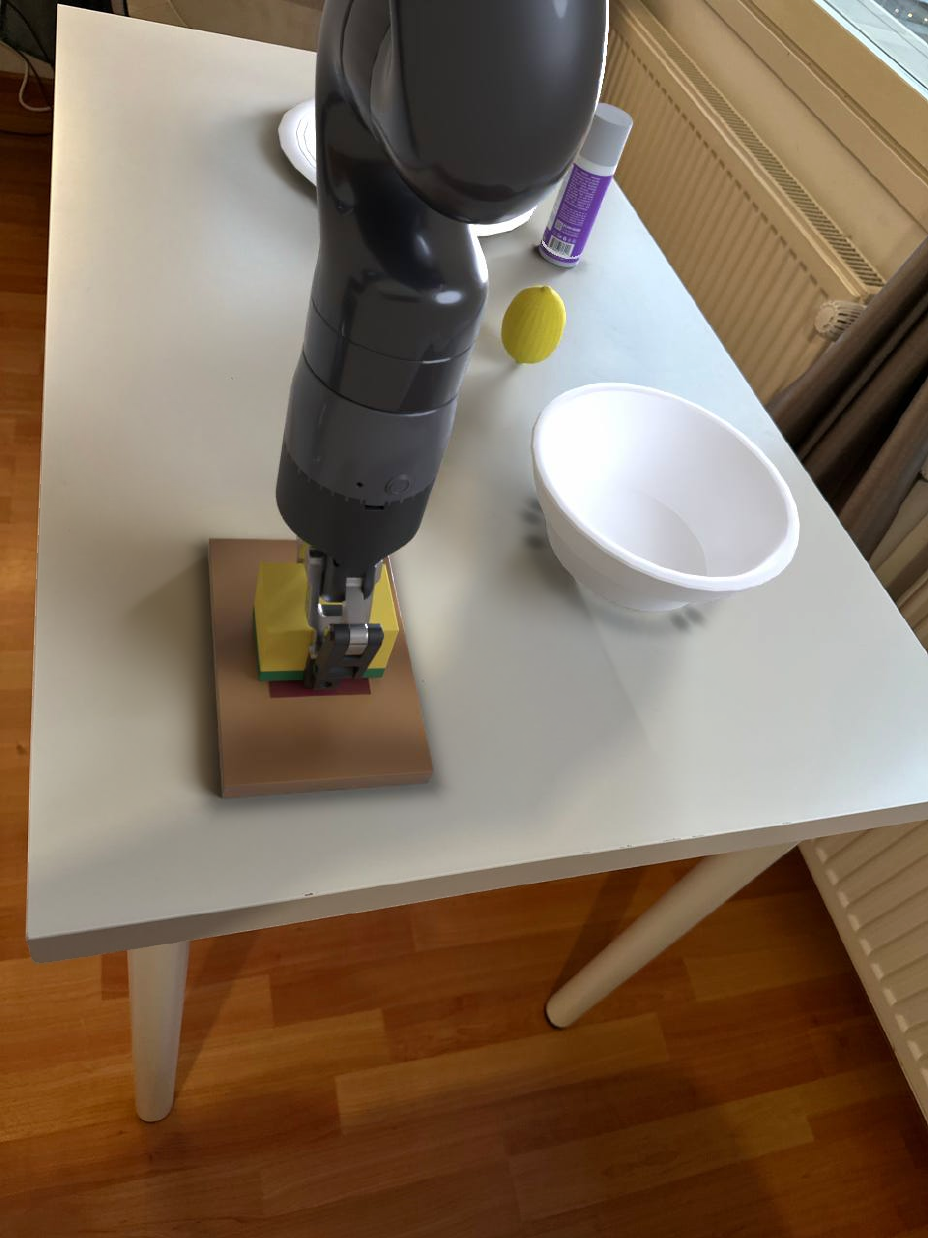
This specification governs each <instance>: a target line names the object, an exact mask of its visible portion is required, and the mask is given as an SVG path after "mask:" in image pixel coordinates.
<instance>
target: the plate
mask: <svg viewBox="0 0 928 1238" xmlns="http://www.w3.org/2000/svg"><path fill="white" fill-rule="evenodd" d="M277 128H278V129H277V134H278V139H279V144H280V149H281V151H282V153H283V154H284V156H285V157H286V158H287V160H288V162H289V163H290V165H291V166H292V167H293V169H294V170H295V171H296V172H297V173H298V174H300V175H301V176H302V177H303V178H304V179H305V180H306V181H307V182H309V183H310V184H311V185H312V186H313V187H314V188H316V189H317V186H316V139H315V97H314V98H311V99H308V100H305V101H302V102H299V103H296V105H294V106H293V107H292V108H290V109H289V110H288V111H287V112H285V113H284V114H283V116H282V119H281V121H280V123H279V126H278V127H277ZM536 208H537V206H536V207H534V208H533V209H532V210H530V211H528V212H527V213H525V214H523V215H521V216H519V217H517V218H514V219H512V220H510V221H506V222H503V223H499V224H493V225H474V229H475V232H476V236H477V239H482V238H483V239H484V238H491V237H494V236H499V235H502V234H508V233H511V232H513V231H515V230H517V229H518V228H519V227H521V226H523V225H524V224H526V223H527V222H529V220H530V218H531V217H530V216H532V215H533V213H534V212H533V211H535V210H536ZM534 209H535V210H534Z"/></svg>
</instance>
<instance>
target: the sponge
mask: <svg viewBox="0 0 928 1238" xmlns="http://www.w3.org/2000/svg"><path fill="white" fill-rule="evenodd" d="M306 588H307V575H306V572H305V568H304V564H302V563H260V566H259V573H258V580H257V587H256V595H255V602H254V608H253V623H254V634H255V645H256V656H257V666H258V677H259V681H280V680H303V674H304V670H305V665H306V661H307V657H308V645H309V644H310V638H311V629H312V627H310V626H309V625H308V622H307V618H306V614H305V610H304V609H305V598H306ZM319 604H342V603H329V602H326V601H324V600H323V599H322V598H321V597H320V598H319ZM369 623H380V624H381V625H382V630H383V631H384V640H383V642H382V646H381V647H380V649H379V651H378V652H377V654H376V656H375V657H374V659H373V660H372V662H371V664H370V665H369V667H368V668H367V670H366V672H365V673H364V675H363V676H362V678H374V677H382V676H383V674H384V671H385V667H386V665H387V662H388V659H389V656H390V653H391V651H392V648H393V645H394V642H395V639H396V637H397V634H398V631H399V628H398V623H397V618H396V613H395V608H394V604H393V599H392V594H391V589H390V584H389V579H388V575H387V570H386V565H385V564H382V571H381V578H380V580H379V581H378V582H377V583H376V584H375V588H374V595H373V601H372V608H371V615H370V621H369ZM327 633H328V632H327V629H325V631H324V637H326V636H327ZM342 679H343V678H342Z"/></svg>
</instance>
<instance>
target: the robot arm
mask: <svg viewBox="0 0 928 1238" xmlns="http://www.w3.org/2000/svg"><path fill="white" fill-rule="evenodd" d="M608 33H609V0H325V1H324V4H323V9H322V14H321V19H320V23H319V30H318V36H317V46H316V56H315V75H314V98H315V139H316V186H317V188H316V198H317V199H316V200H317V201H316V202H317V213H318V232H319V233H318V234H319V235H318V236H319V238H318V239H319V243H318V254H317V259H316V265H315V268H314V272H313V277H312V282H311V289H310V295H309V297H310V298H309V301H308V309H307V316H306V322H305V329H304V335H303V342H302V347H301V352H300V355H299V358H298V361H297V364H296V366H295V370H294V373H293V377H292V380H291V384H290V388H289V397H288V402H287V408H286V409H287V410H286V416H285V423H284V430H283V436H282V443H281V451H280V456H279V464H278V470H277V477H276V483H275V484H276V485H275V502H276V507H277V509H278V512H279V514H280V516H281V518H282V520H283V522H284V523H285V524H286V526H287V527H288V528H289V530H291V532H292V533H293V534H295V535H296V536H295V540H296V542H297V563H302V564H304V568H305V572H306V575H307V588H306V598H305V609H304V610H305V614H306V618H307V622H308V625H309V626H310V627H312V629H311V638H310V644H309V645H308V657H307V661H306V665H305V670H304V674H303V680H304V686H305V687H306V688H312V690H331V689H337V687H338V686H339V685H340V684H341V681H342V678H352V679H361V678H362V676H363V675H364V673H365V672H366V670H367V668H368V667H369V665H370V664H371V662H372V660H373V659H374V657H375V656H376V654H377V652H378V651H379V649H380V647H381V646H382V642H383V640H384V631H383V630H382V625H381V624H380V623H369V621H370V615H371V608H372V601H373V595H374V588H375V584H376V583H377V582H378V581H379V580H380V578H381V571H382V564H383V559H384V558H386V557H387V556H389V557H390V556H391V555H392V554H394V553H395V552H397V551H399V550H401V549H403V548H404V547H405V546H406V545H408V544H409V543H410V542H411V541H412V540H413V538H414V537H415V536H416V535H417V533H418V531H419V529H420V527H421V524H422V522H423V519H424V516H425V512H426V510H427V507H428V503H429V501H430V498H431V494H432V493H433V492H432V491H433V488H434V485H435V484H436V483H435V482H436V480H437V477H438V474H439V471H440V468H441V465H442V462H443V459H444V456H445V454H446V450H447V447H448V445H449V441H450V438H451V435H452V431H453V428H454V424H455V419H456V413H457V406H458V400H459V395H460V391H461V387H462V384H463V382H464V378H465V375H466V373H467V369H468V366H469V363H470V360H471V357H472V354H473V351H474V348H475V344H476V342H477V339H478V336H479V332H480V329H481V326H482V323H483V320H484V317H485V313H486V310H487V309H486V308H487V304H488V298H489V289H490V287H489V286H490V284H489V283H490V279H489V271H488V266H487V261H486V258H485V255H484V253H483V249H482V246H481V245H480V241H479V238H477V236H476V232H475V229H474V225H493V224H499V223H503V222H506V221H510V220H512V219H514V218H517V217H519V216H521V215H523V214H525V213H527V212H528V211H530V210H532V209H533V208H534V207H536V208H537V206H538V205H540V204H541V203H542V202H543V201H545V199H547V198H548V197H549V196H550V194H551V193H553V191H555V189H556V188H557V187H558V185H559V184H561V183H562V181H563V178H564V177H565V175H566V174H567V172H568V171H569V169H570V168H571V166H572V165H573V163H574V161H575V159H576V157H577V156H578V154H579V152H580V150H581V148H582V146H583V143H584V141H585V139H586V137H587V134H588V132H589V129H590V126H591V123H592V120H593V117H594V114H595V110H596V107H597V103H599V99H600V96H601V95H600V94H601V90H602V85H603V79H604V74H605V67H606V56H607V45H608ZM320 597H321V598H322V599H323V600H324V601H326V602H329V603H342V604H319V598H320ZM325 629H327V632H328V633H327V636H326V637H324V631H325Z"/></svg>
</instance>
